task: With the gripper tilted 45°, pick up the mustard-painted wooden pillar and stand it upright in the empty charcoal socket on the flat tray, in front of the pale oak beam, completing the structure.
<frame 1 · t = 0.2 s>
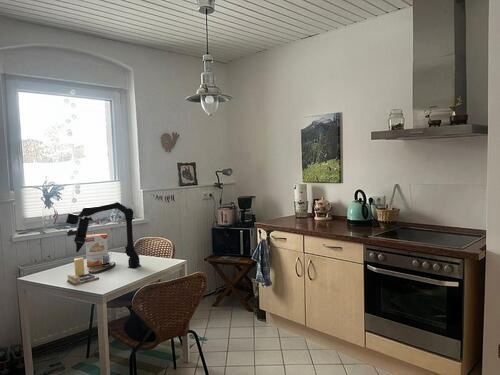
hand: (77, 250, 235), 15 cm above the table, tool tilted 15°, fingers open, 9 cm apart
cracker box: (98, 264, 258), on the table
pillar: (80, 276, 232), on the table
flat tray: (84, 279, 224), on the table
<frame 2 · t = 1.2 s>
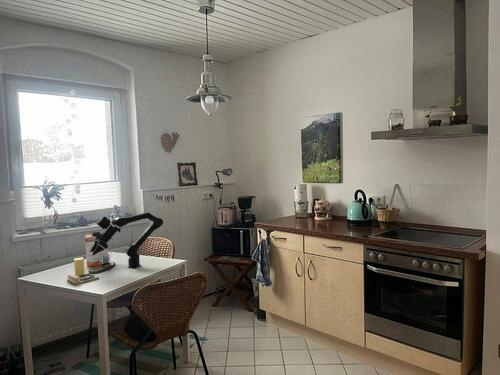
hand: (91, 253, 235), 13 cm above the table, tool tilted 45°, fingers open, 9 cm apart
nothing on the table moved.
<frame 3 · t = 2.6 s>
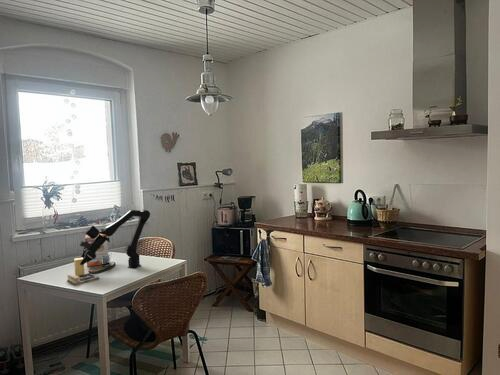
hand: (79, 263, 231), 8 cm above the table, tool tilted 45°, fingers open, 9 cm apart
nothing on the table moved.
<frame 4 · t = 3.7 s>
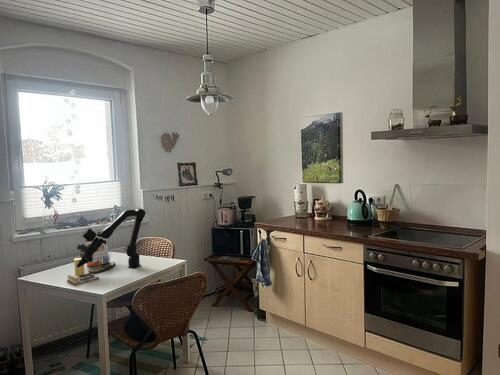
hand: (76, 266, 231), 7 cm above the table, tool tilted 45°, fingers closed on pillar, 5 cm apart
pillar: (80, 276, 232), on the table, touching gripper
everything else where it was.
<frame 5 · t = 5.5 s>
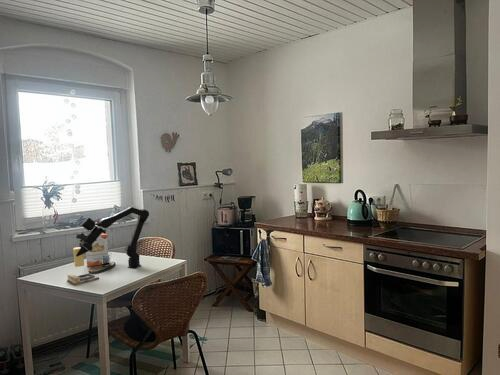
hand: (76, 255, 230), 13 cm above the table, tool tilted 45°, fingers closed on pillar, 5 cm apart
pillar: (79, 265, 231), point 7 cm above the table, touching gripper
everything else where it was.
when the fingers open (10 cm above the table, at t = 7.5 s): pillar drops 2 cm, resting on flat tray.
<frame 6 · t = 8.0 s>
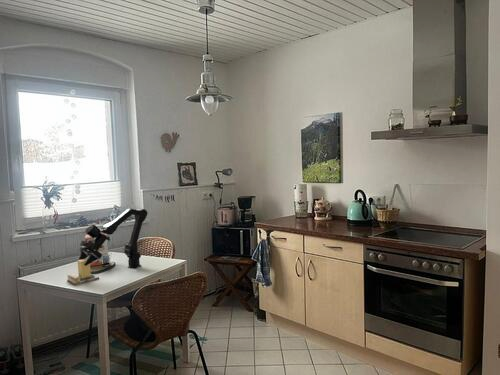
hand: (81, 264, 222), 10 cm above the table, tool tilted 45°, fingers open, 9 cm apart
pillar: (84, 278, 223), point 1 cm above the table, touching flat tray
everything else where it was.
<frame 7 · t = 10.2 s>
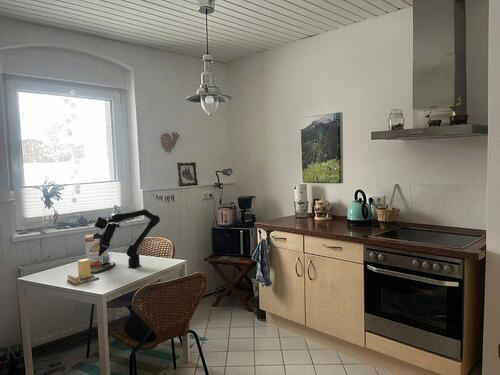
hand: (99, 254, 237), 11 cm above the table, tool tilted 25°, fingers open, 9 cm apart
nothing on the table moved.
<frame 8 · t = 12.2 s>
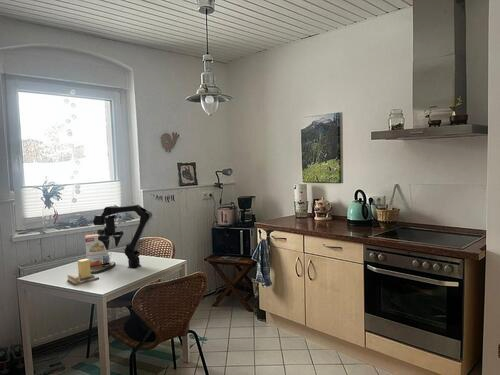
hand: (111, 248, 248), 13 cm above the table, tool pointing down, fingers open, 9 cm apart
nothing on the table moved.
at the end: pillar 0.1 cm off-centre on the flat tray, point 1.1 cm above the flat tray's base; pillar tilted 0°; the gripper is holding nothing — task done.
